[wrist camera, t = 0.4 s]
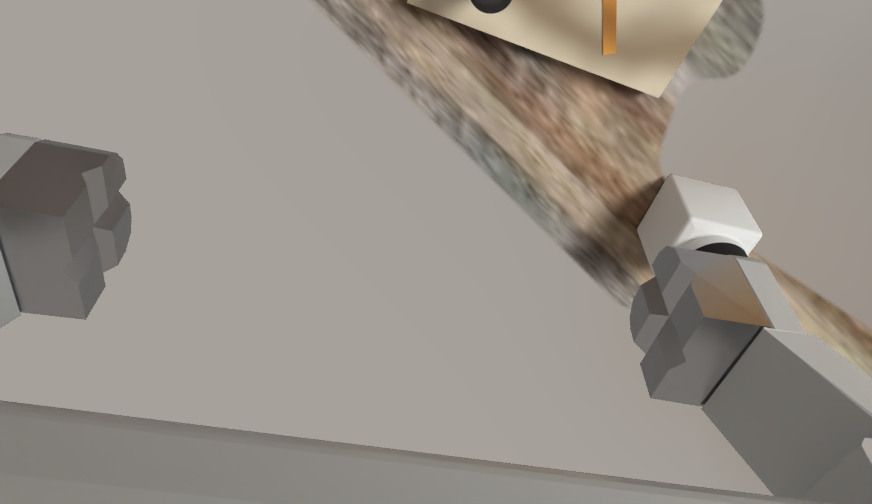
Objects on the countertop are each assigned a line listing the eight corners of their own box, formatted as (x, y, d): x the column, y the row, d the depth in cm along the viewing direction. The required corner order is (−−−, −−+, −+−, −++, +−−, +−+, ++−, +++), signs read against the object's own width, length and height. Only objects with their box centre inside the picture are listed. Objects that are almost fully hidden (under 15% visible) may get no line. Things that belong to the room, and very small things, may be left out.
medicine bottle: (634, 229, 65) (665, 315, 56) (668, 171, 61) (708, 254, 52) (699, 243, 66) (739, 330, 57) (737, 187, 62) (787, 272, 53)
